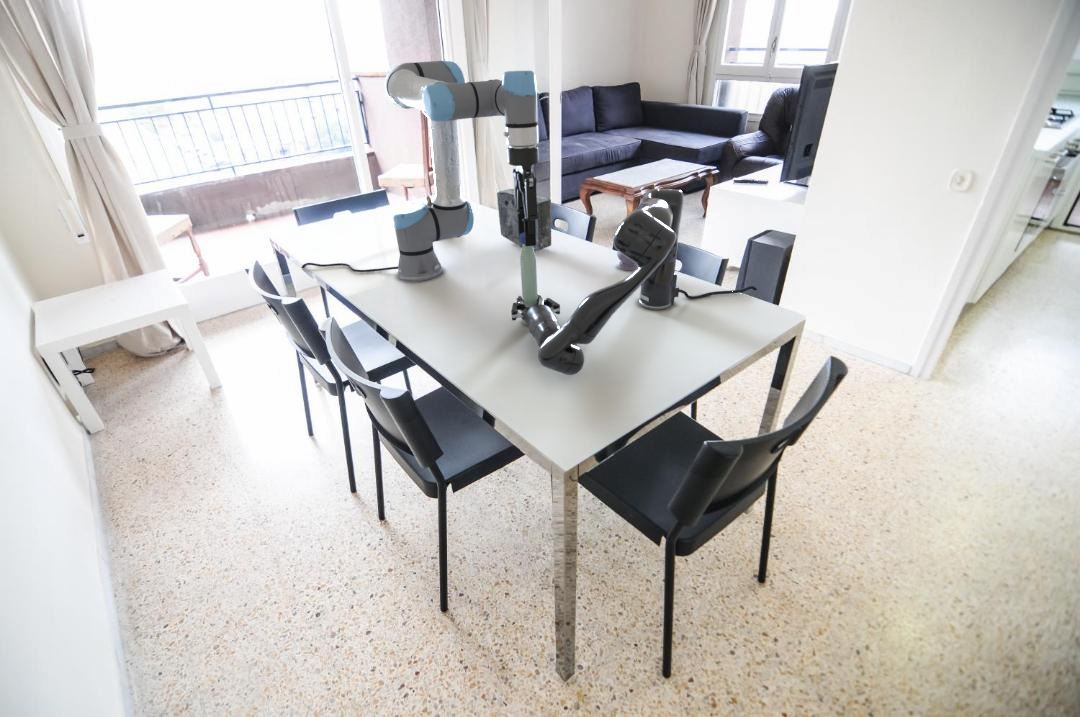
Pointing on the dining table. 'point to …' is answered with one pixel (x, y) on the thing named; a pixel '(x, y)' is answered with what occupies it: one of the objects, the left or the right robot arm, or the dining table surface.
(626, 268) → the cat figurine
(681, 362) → the dining table surface
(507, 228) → the concrete block
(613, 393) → the dining table surface
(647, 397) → the dining table surface
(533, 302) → the bottle
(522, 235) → the cap
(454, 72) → the left robot arm
